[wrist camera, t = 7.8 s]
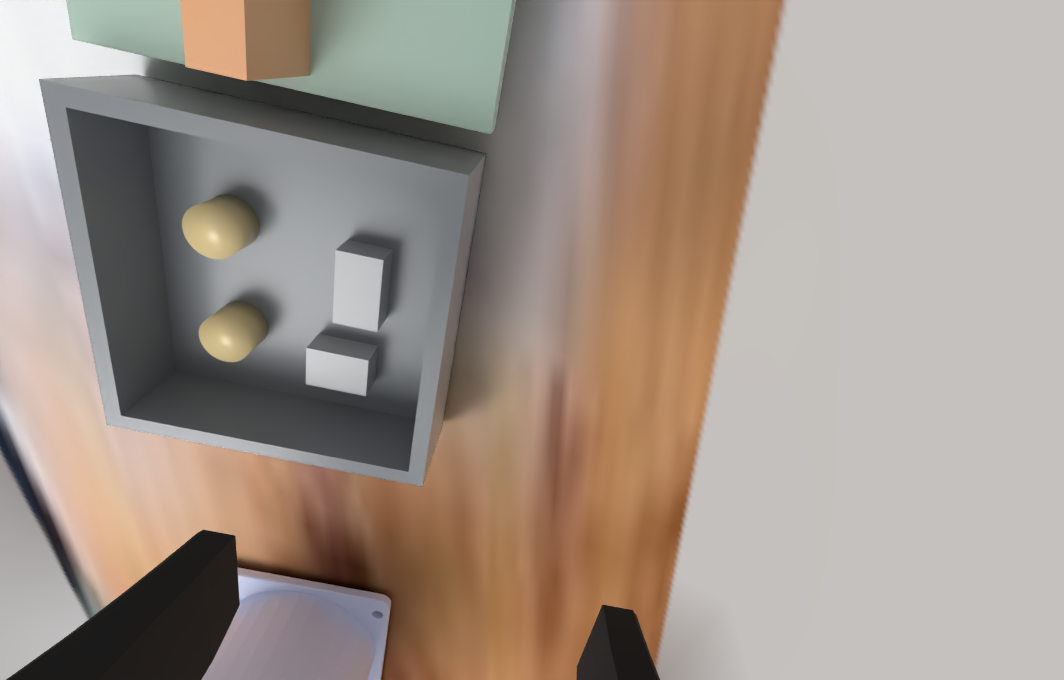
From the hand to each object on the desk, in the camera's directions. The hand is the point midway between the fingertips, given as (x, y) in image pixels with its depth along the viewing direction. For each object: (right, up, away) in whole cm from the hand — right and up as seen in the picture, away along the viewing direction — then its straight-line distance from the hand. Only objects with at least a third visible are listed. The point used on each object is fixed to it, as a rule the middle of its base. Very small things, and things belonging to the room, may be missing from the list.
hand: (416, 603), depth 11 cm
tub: (-5, +7, +7) cm, 11 cm away
